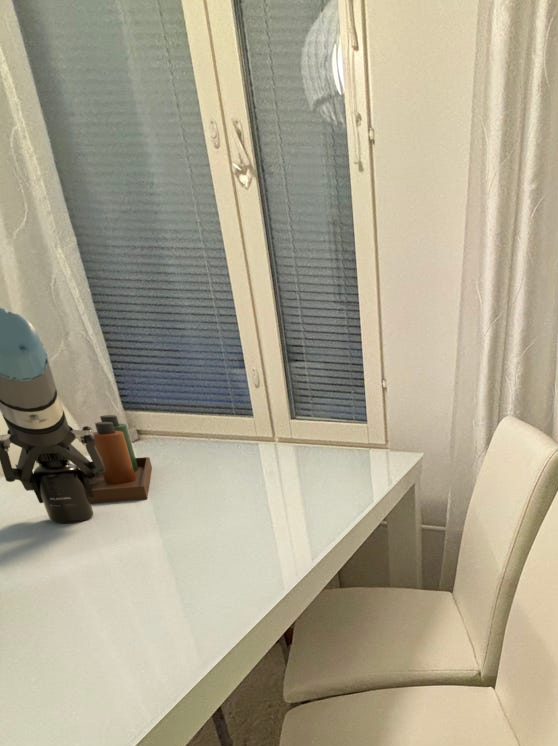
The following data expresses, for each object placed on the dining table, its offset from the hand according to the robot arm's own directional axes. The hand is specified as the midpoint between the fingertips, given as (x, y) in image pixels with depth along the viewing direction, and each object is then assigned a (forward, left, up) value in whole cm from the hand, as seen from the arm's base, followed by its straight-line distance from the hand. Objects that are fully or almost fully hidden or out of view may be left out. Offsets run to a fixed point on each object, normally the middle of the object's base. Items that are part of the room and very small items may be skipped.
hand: (65, 493), depth 101 cm
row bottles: (+7, +27, -3) cm, 28 cm away
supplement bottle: (+1, -3, -4) cm, 5 cm away
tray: (+7, +21, -4) cm, 22 cm away
